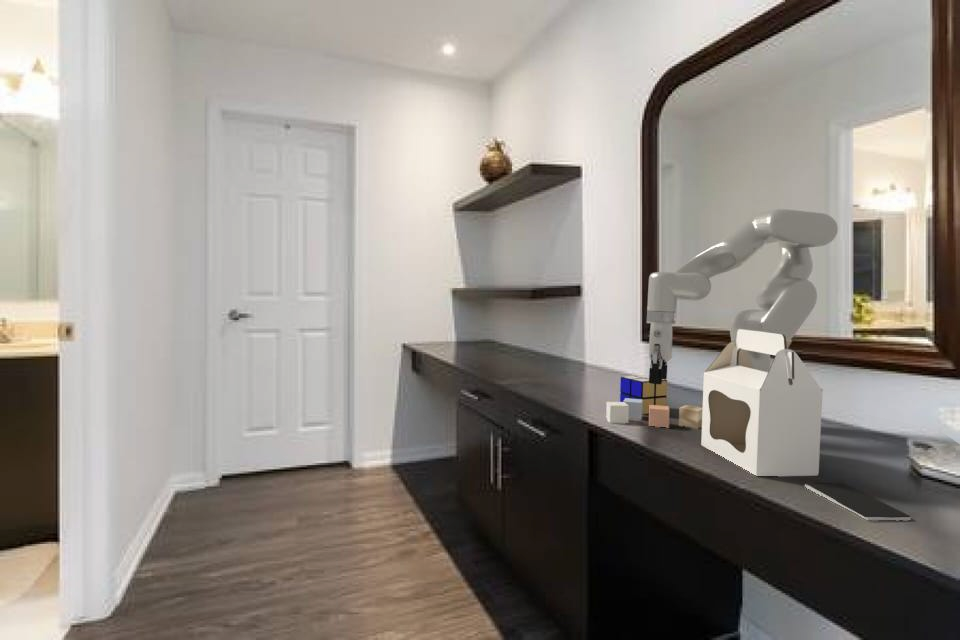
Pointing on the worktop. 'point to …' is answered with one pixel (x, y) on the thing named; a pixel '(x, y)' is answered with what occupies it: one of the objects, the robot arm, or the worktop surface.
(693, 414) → the maple block
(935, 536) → the worktop surface
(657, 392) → the puzzle cube
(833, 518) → the worktop surface
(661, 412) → the terracotta block
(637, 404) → the dusty blue block
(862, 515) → the smartphone
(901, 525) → the worktop surface
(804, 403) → the gable box
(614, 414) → the pale grey block
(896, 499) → the worktop surface
